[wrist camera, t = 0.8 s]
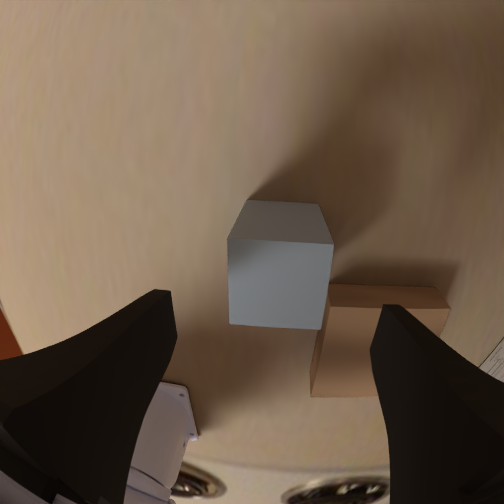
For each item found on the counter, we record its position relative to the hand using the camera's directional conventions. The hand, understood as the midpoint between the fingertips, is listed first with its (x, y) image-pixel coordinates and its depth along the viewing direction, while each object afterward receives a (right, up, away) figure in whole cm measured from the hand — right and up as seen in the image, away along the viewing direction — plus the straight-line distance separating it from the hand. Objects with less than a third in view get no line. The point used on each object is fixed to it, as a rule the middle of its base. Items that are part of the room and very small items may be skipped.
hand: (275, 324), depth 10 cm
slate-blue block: (+1, +3, +8) cm, 8 cm away
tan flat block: (+8, -3, +10) cm, 13 cm away
